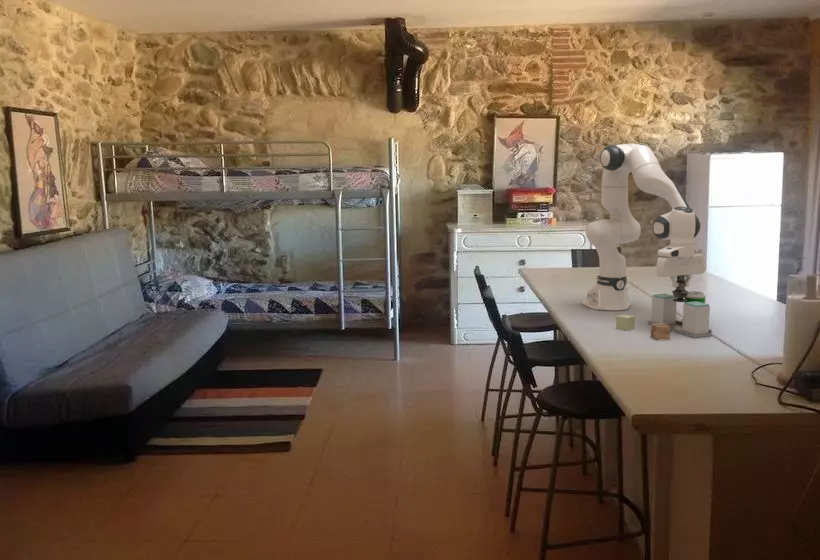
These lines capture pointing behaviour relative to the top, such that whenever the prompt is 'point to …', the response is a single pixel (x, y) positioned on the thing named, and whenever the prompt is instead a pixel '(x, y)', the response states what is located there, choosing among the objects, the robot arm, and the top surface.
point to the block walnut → (660, 331)
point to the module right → (696, 317)
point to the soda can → (695, 297)
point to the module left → (663, 309)
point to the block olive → (625, 322)
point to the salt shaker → (680, 290)
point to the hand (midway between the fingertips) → (680, 286)
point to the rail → (678, 328)
